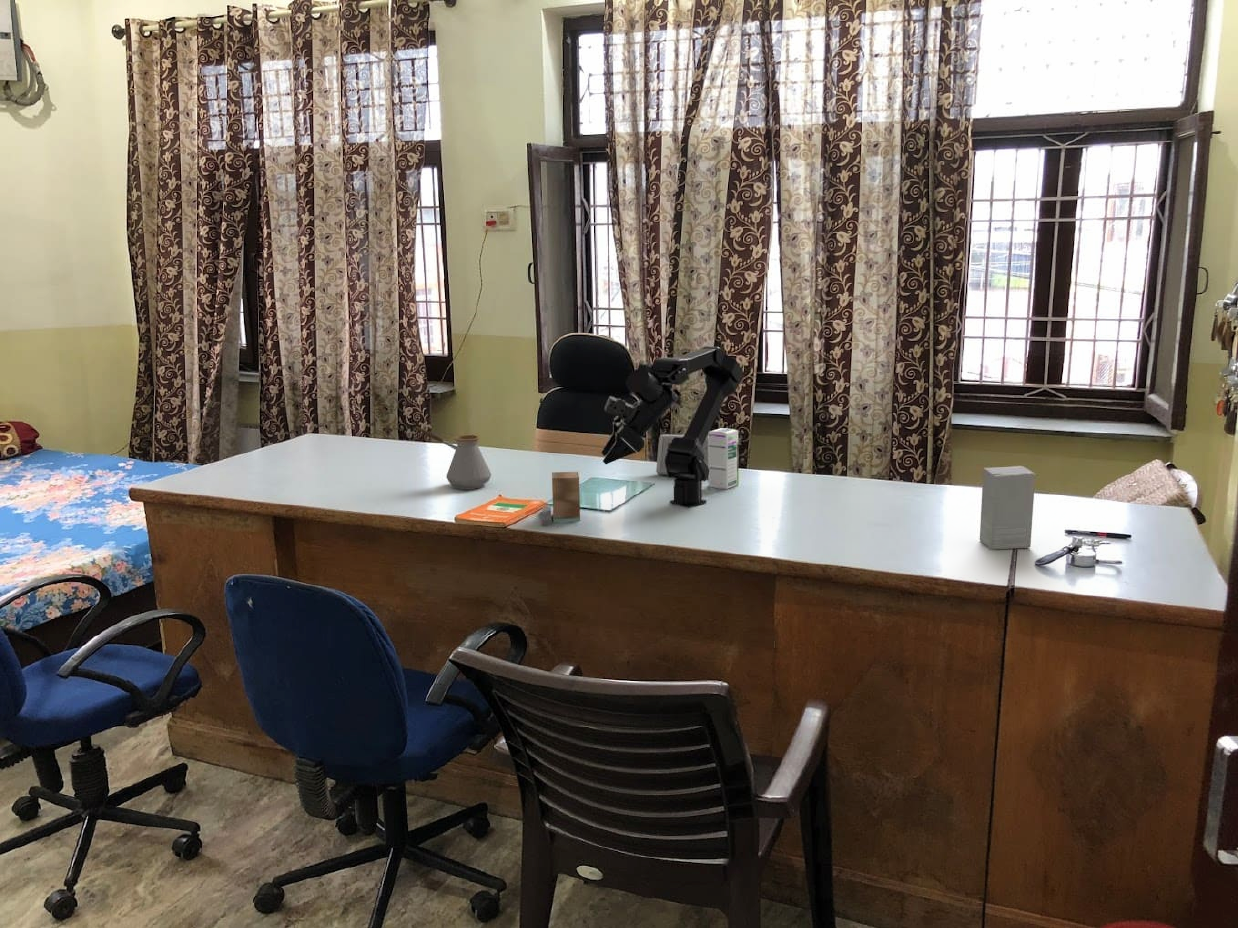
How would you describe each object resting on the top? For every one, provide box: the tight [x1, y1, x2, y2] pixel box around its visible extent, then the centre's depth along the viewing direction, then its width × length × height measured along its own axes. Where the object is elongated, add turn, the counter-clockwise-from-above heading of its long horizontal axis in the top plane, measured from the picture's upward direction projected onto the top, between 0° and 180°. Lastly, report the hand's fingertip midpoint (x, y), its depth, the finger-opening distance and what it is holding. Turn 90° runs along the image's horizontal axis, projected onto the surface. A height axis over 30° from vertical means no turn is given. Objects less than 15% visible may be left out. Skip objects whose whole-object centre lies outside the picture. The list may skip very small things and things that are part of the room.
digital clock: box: [655, 433, 708, 476], centre depth 262 cm, size 16×9×11 cm, turn 60°
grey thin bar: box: [541, 505, 552, 527], centre depth 222 cm, size 2×12×1 cm, turn 4°
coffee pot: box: [412, 426, 492, 490], centre depth 254 cm, size 21×12×15 cm, turn 69°
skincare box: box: [979, 465, 1037, 551], centre depth 196 cm, size 8×7×16 cm
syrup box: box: [707, 427, 740, 490], centre depth 248 cm, size 6×6×14 cm
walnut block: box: [551, 471, 581, 523], centre depth 222 cm, size 6×6×10 cm
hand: (603, 458), depth 221 cm, fingers open, 8 cm apart
